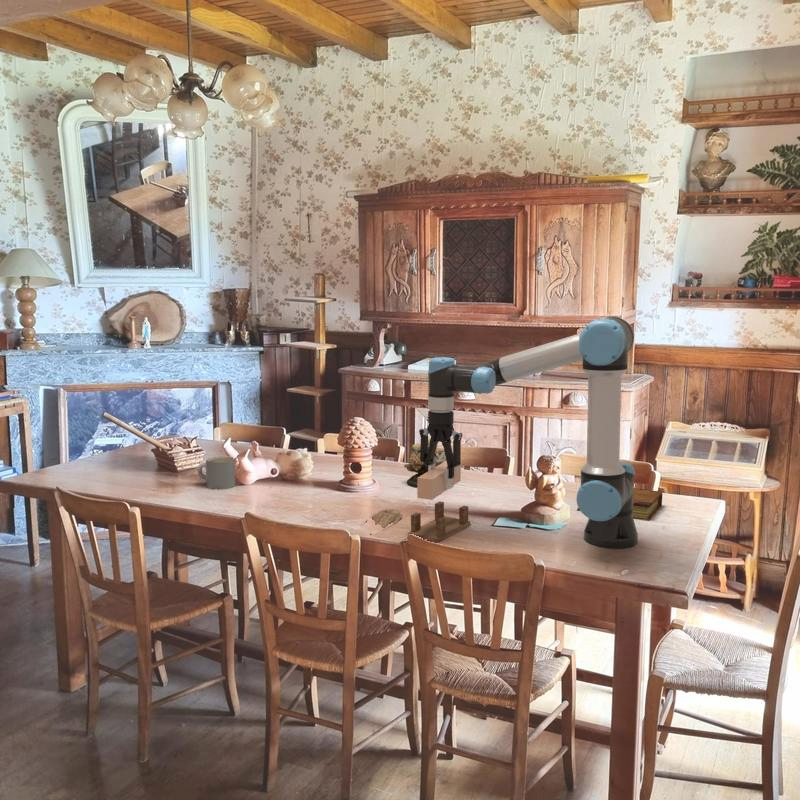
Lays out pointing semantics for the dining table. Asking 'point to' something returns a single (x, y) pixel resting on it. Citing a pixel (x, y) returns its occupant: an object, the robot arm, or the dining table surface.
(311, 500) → the dining table surface
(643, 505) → the diary
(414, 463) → the owl figurine
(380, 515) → the fish fossil
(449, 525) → the rack
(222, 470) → the coffee mug
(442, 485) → the clay strip
